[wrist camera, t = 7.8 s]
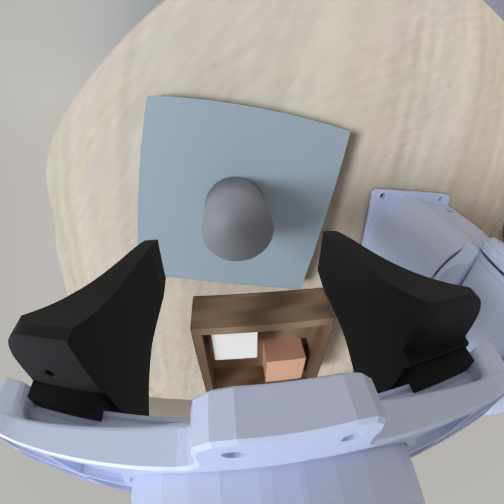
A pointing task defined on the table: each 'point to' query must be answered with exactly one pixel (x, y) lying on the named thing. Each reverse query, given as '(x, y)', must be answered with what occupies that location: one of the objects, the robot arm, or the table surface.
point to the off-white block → (235, 346)
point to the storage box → (259, 331)
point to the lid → (235, 189)
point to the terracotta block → (283, 359)
